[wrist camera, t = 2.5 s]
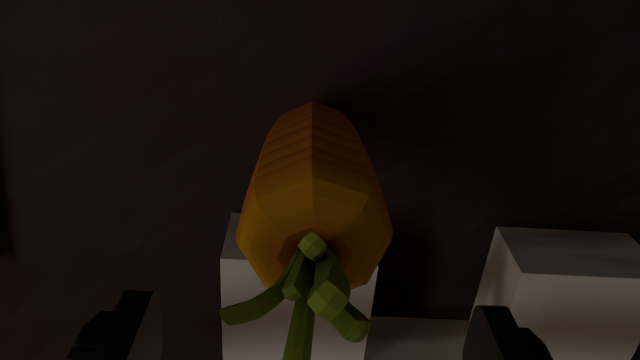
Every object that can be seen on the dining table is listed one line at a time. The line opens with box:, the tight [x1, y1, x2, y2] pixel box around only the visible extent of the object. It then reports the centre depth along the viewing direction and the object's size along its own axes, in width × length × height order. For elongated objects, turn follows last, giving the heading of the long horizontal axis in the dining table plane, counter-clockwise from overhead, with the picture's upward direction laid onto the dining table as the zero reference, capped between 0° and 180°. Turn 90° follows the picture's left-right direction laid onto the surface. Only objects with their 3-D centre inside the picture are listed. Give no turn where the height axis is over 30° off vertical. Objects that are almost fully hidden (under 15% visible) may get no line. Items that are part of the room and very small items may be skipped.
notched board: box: [220, 213, 640, 360], centre depth 30 cm, size 12×22×4 cm, turn 86°
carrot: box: [219, 101, 393, 360], centre depth 19 cm, size 5×5×15 cm
